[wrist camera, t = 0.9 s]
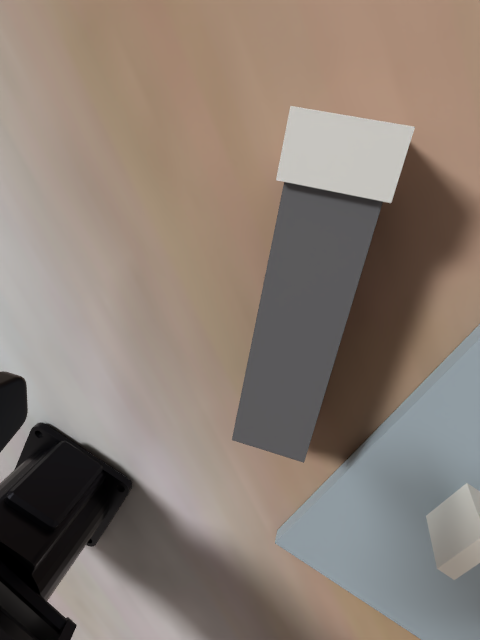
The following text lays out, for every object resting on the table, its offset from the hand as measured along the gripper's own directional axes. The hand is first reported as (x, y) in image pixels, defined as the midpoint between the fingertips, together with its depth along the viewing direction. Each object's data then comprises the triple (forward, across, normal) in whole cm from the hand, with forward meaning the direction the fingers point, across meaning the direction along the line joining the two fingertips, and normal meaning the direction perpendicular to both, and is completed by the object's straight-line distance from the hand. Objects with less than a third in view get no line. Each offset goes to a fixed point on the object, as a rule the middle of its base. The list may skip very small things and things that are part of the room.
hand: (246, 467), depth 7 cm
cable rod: (+11, 0, 0) cm, 11 cm away
